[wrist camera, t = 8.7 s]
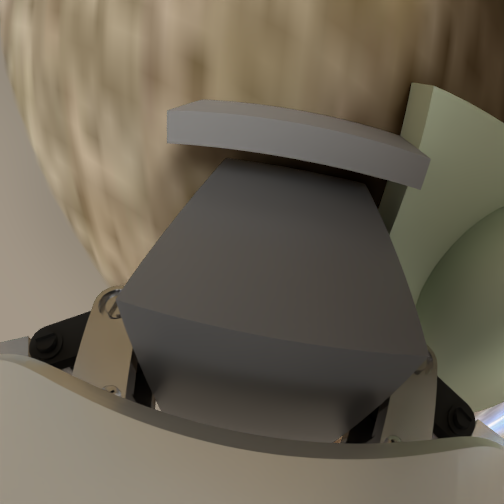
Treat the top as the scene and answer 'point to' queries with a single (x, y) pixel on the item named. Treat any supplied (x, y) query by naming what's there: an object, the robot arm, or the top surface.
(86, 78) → the top surface
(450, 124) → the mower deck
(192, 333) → the grey rectangular block
